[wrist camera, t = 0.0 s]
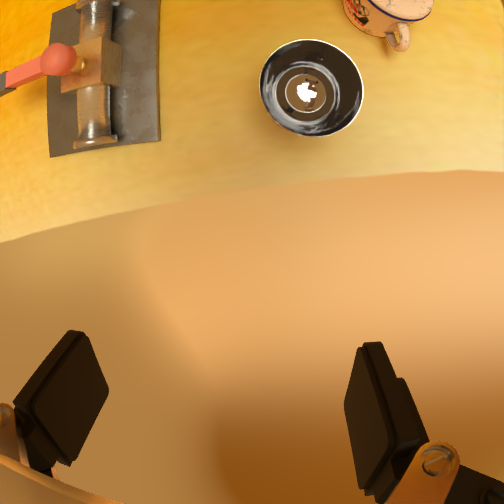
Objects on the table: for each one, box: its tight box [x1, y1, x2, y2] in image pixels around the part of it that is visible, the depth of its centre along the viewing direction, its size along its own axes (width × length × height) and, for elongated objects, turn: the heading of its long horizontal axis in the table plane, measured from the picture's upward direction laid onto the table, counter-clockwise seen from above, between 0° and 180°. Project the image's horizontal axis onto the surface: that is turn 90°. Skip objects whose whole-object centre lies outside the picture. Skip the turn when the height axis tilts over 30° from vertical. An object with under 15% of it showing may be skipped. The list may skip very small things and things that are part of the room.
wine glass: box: [259, 39, 363, 137], centre depth 27 cm, size 8×8×15 cm
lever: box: [0, 43, 77, 97], centre depth 23 cm, size 16×4×2 cm, turn 91°
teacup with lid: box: [343, 0, 433, 52], centre depth 23 cm, size 12×9×12 cm
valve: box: [47, 0, 161, 158], centre depth 28 cm, size 24×18×10 cm
